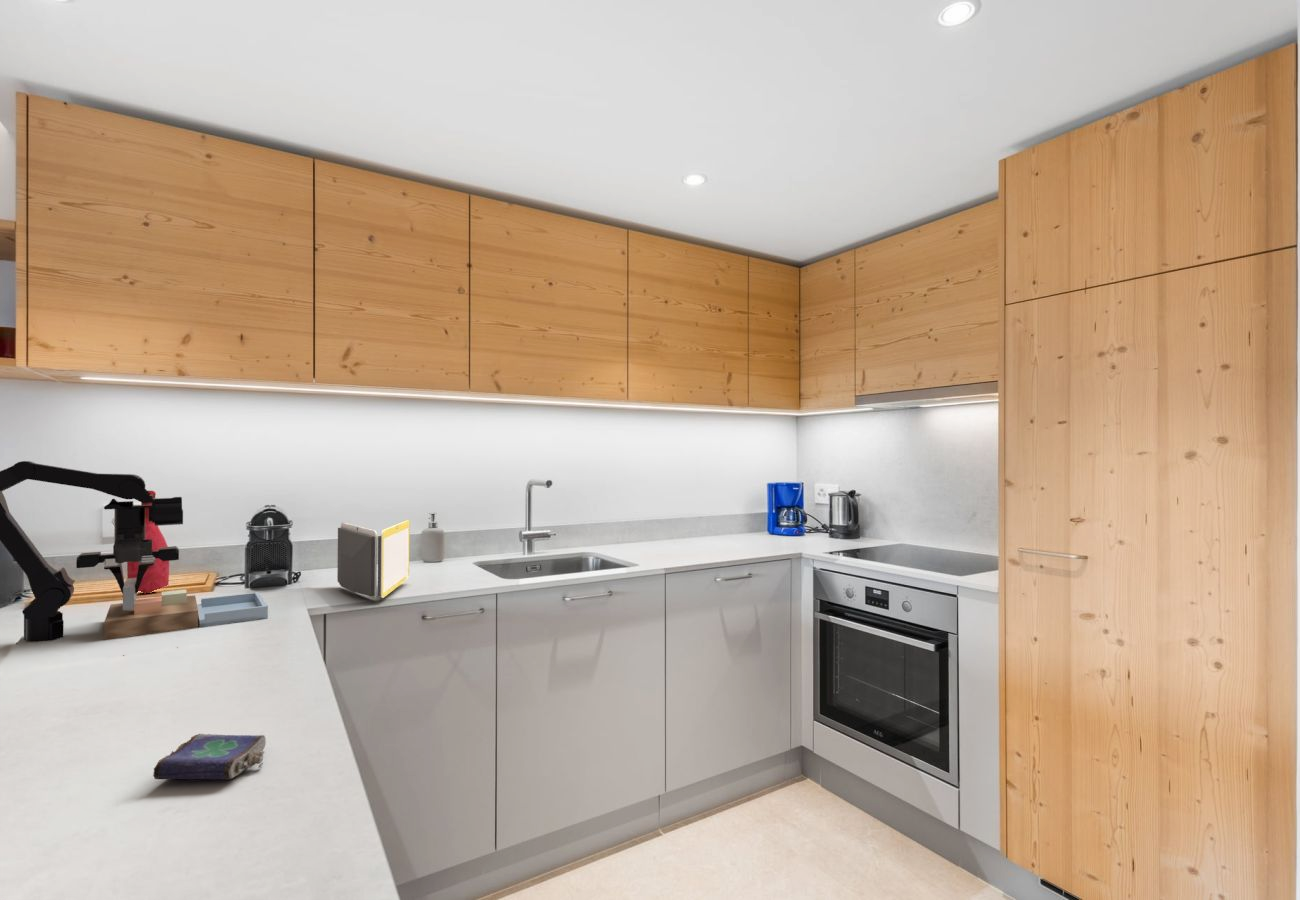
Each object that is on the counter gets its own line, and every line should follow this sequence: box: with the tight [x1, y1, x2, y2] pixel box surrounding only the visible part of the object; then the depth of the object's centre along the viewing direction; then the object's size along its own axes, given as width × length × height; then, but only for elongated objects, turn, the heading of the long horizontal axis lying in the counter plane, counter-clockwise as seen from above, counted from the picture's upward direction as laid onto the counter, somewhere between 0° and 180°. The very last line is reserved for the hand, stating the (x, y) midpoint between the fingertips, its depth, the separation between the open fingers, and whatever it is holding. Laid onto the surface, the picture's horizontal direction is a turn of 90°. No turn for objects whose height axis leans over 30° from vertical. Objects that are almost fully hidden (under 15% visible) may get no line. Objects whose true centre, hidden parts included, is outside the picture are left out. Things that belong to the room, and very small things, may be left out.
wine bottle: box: [126, 490, 170, 595], centre depth 192 cm, size 10×10×30 cm
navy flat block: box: [152, 733, 267, 780], centre depth 84 cm, size 9×3×11 cm
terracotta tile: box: [134, 596, 162, 615], centre depth 153 cm, size 5×5×2 cm
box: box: [197, 591, 269, 628], centre depth 165 cm, size 14×20×3 cm
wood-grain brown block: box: [103, 595, 199, 641], centre depth 156 cm, size 17×20×4 cm
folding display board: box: [336, 519, 411, 599], centre depth 200 cm, size 35×22×20 cm, turn 44°
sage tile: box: [160, 588, 188, 606], centre depth 161 cm, size 5×5×2 cm
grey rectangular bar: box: [122, 578, 138, 610], centre depth 153 cm, size 2×14×5 cm, turn 37°
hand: (130, 593), depth 153 cm, fingers closed on grey rectangular bar, 2 cm apart
